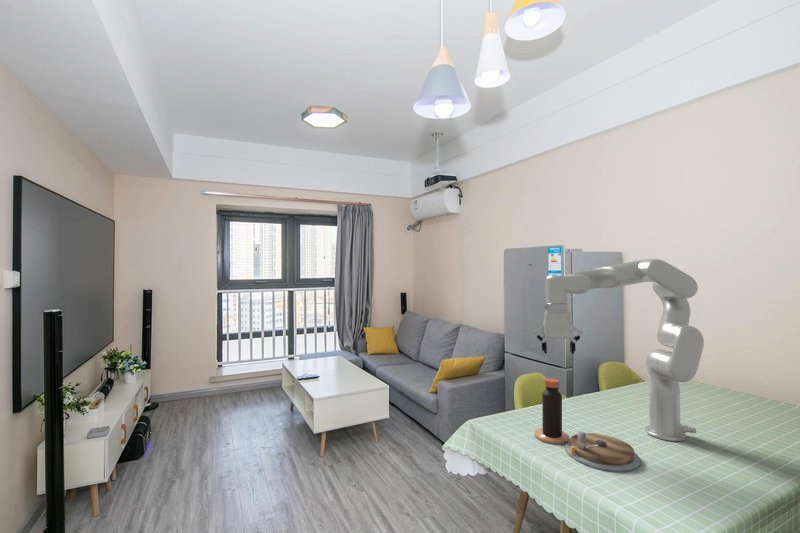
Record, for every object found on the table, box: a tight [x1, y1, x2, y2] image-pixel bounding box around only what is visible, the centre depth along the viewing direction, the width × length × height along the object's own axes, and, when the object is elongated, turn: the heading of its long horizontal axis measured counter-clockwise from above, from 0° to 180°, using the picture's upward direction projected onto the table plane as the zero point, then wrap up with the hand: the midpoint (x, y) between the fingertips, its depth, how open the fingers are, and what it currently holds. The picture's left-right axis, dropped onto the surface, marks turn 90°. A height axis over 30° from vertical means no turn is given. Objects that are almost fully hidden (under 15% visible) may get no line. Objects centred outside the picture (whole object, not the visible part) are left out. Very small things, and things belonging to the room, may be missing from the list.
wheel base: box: [565, 440, 641, 473], centre depth 127 cm, size 22×22×3 cm
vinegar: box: [541, 378, 563, 438], centre depth 141 cm, size 7×7×20 cm
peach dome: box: [534, 427, 570, 445], centre depth 141 cm, size 12×12×1 cm
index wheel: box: [569, 431, 635, 465], centre depth 127 cm, size 19×19×7 cm
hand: (558, 352), depth 144 cm, fingers open, 9 cm apart
